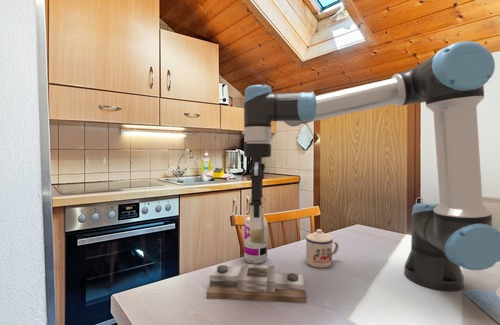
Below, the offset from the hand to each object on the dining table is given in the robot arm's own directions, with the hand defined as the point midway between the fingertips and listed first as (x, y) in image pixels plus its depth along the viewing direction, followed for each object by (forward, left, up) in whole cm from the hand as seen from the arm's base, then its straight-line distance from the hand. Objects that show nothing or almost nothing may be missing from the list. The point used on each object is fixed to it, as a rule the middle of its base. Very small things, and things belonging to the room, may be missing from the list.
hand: (257, 226), depth 77 cm
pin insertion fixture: (0, 0, -18) cm, 18 cm away
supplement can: (+14, -14, -18) cm, 27 cm away
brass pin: (0, 0, -4) cm, 4 cm away
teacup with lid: (-4, -29, -18) cm, 34 cm away
